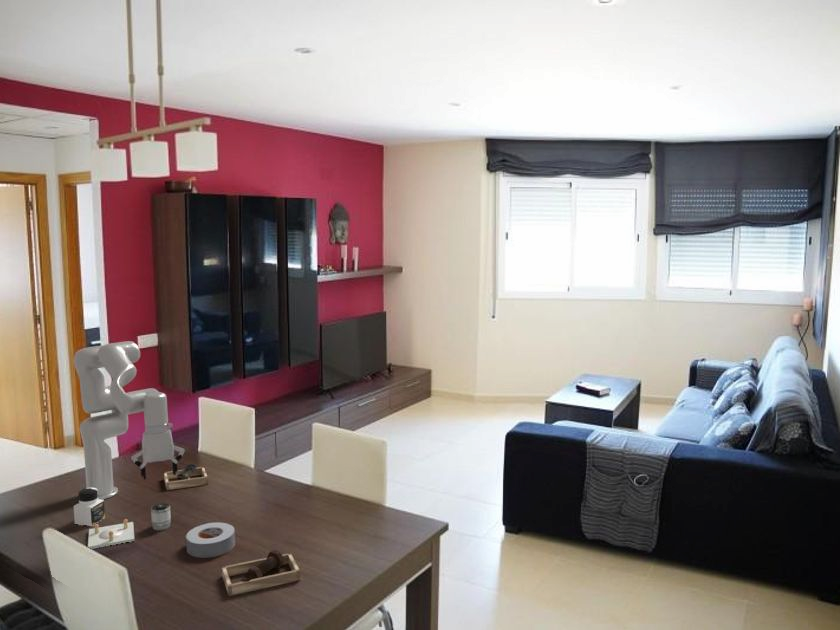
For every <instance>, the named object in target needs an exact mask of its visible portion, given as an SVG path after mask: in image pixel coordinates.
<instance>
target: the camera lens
mask: <svg viewBox="0 0 840 630" xmlns="http://www.w3.org/2000/svg"><path fill="white" fill-rule="evenodd" d="M150 516H151V526H152V530H155V531H164V530H167V529H169V528H170V526H171V522H172V518H171V506H170V505H169V503H163V502H162V503H157V504H155V505H152V507H151V509H150Z"/></svg>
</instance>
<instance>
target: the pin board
mask: <svg viewBox="0 0 840 630" xmlns="http://www.w3.org/2000/svg"><path fill="white" fill-rule="evenodd" d="M122 522H123V523H119V524H117V523H116V524H112V525H105V526H101V527H100V525H99V524H98V523H97V524H95V525H93V528H89V529H88V538H87V539H88V540H87V548H88V547H89V548H91V549H90V550H95V549H100V548H106V547H111V546H110V545H112V546H117V545H116V544H118V545H122V544H121V543H123V544H127V543H126V542H129V543H133V542H132V541H134V542H135V531H134V530H135V529H134V526H135V525H134V521H130V522H129V520H128V519H127V518H125V519H123V521H122ZM105 546H106V547H105ZM99 547H100V548H99Z"/></svg>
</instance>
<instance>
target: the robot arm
mask: <svg viewBox="0 0 840 630" xmlns="http://www.w3.org/2000/svg"><path fill="white" fill-rule="evenodd" d="M140 358H141V350H140V348H139V346H138V345H137V344H136V343H135V341H130V340H127V341H118V342H112V343H111V342H110V343H107V344H104V345H95V346H90V347H89V346H88V347H85V348H81V349H79V350H77V351H76V352H75V353H74V356H73V364H74V368H75V371H76V374H77V375H78V379H79V386H80V399H81V406H82V409H83V412H84V413H85V414H89V415H91V414H99V413H103V412H107V411H108V413H103V414H99V415H94V416H90V417H88V418H85V419H84V420H83V421H81V423H80V424H79V432H80V437H81V440H82V445H83V446H82V447H83V454H84V456H83V457H84V470H85V471H84V472H85V483H86V484H85V485H86V488H96V489H97V490H98V499H101V500H106V499H110V498H111V497H112V498H113V497H114V496H115V495H117V494H118V492H119V488H118V487H117V486H114V475H113V474H114V473H113V458H112V449H111V447H110V445H109V444H107V443H106V442H105V440H106V439H110V438H111V439H112V438H115V437H119V436H121V435H124V434H126V433H127V432H128V429H129V415H132V414H133V415H134V414H138V413H141V412H143V414H144V415H143V416H144V418H143V419H144V432H143V433H142V438H141V450H139V451H137V452H135V453H134V454H132V455H131V456H130V457H131V460H132V461H133V463H134V464H135V465H136V467H138V468H140V476H141V477H142V478H143V480H146V479H147V474H146V473H147V471H146V470H147V469H146V465H147V464H148V463H154V462H162V461H169V460H170V461H171V464H172V467H171V468H172V471H173V475H176V472H177V470H178V463H179V461H180V460H181V459H182V458H183V455H184V453H185V452H186V451H185V449H184V448H183V447H180V446H176V445H174V440H173V439H174V438H173V434H172V430H171V429H170V428H173V427H174V425H173V423H172V422H169V415H168V399H167V394H166V393H164V392H160V391H158V389H156V388H154V387H152V388H151V387H150V388H145V389H139V390H134V391H128V392H125V390H124V388H123V387H125V386H126V385H128V384H129V383H130V382H132V381H133V380H134V378H135V377H136V375H137V371H138V369H137V368H136V366H135V365H134V363H137V362H138V361H139V359H140ZM100 369H105V371H106V372H107V373H108V375H109V376H110V377H111V379H112V380H111V383H110V385H106V383H105V376H104V374H103V373H102V371H101V370H100ZM109 411H111V412H109ZM175 451H176V452H178V454H177V455H176V456H175ZM140 456H142V460H141V461H140V460H139V459H138V458H139V457H140Z"/></svg>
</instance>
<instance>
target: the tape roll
mask: <svg viewBox="0 0 840 630" xmlns="http://www.w3.org/2000/svg"><path fill="white" fill-rule="evenodd" d="M185 535H186V536H185V543H186V552H187V554H188V555H190V556H191V557H194V558H199V559H200V558H201V559H202V558H203V559H204V558H205V559H207V558H214V557H218V556H223V555H225V554H227V553H229V552H230V551H232V550H233V548H235V545H236V537H235V535H236V534H235V527H234V526H233V525H232V524H229V523H225V522H208V523H205V524H200V525H198V526H195V527H193V528H192V529H190V530H189V531H187V533H186V534H185Z"/></svg>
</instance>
